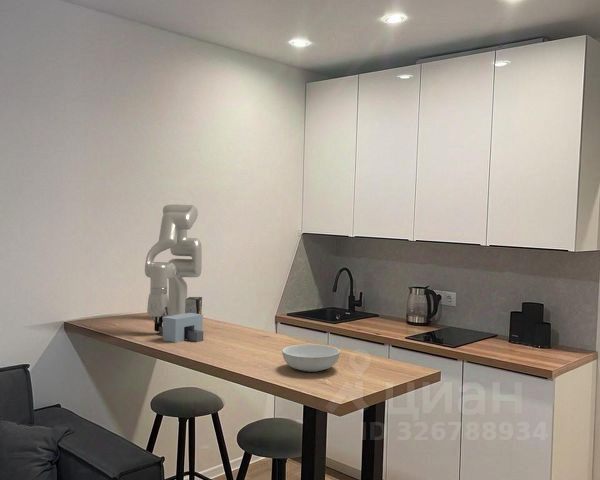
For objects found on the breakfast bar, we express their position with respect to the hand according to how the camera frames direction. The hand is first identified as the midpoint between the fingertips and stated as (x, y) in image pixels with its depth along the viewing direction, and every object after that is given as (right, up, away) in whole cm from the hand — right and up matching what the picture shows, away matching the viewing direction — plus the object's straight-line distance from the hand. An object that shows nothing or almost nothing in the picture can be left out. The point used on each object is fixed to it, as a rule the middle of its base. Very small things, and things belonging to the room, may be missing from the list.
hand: (158, 330), depth 269 cm
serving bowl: (+69, -5, -55) cm, 88 cm away
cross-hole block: (+13, -2, -9) cm, 16 cm away
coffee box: (+15, -2, +4) cm, 16 cm away
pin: (+12, -2, -8) cm, 14 cm away
